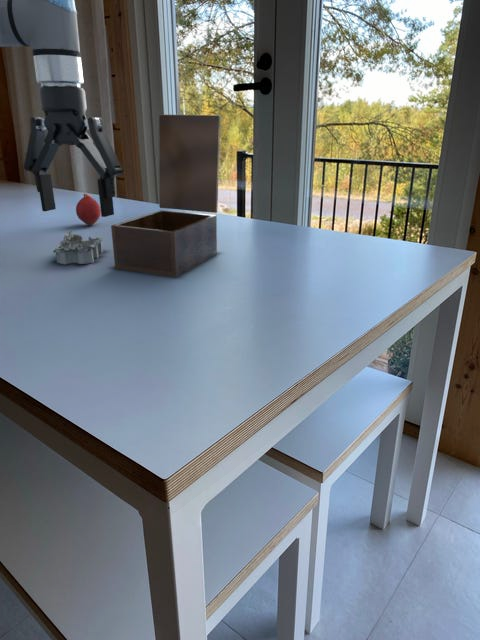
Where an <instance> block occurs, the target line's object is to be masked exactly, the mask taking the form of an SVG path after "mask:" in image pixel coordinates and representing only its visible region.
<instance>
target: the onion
mask: <svg viewBox="0 0 480 640" xmlns="http://www.w3.org/2000/svg"><path fill="white" fill-rule="evenodd" d="M82 195H83V197H82V198H80V199H79V200H78V202H77V203H76V207H75V212H76V213H75V214H76V216H77V218H78V219H79V220H80V221H81V222H83V223H84V224H85V225H87V226H88V227H92V226H93V225H94V224H96V223H97V222H98V220H99V219H100V217H101V207H100V203H98V202H97V200H96V199H94V198H93V197H91V195H90V194H88V193H86V192H85V193H83V194H82Z"/></svg>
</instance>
